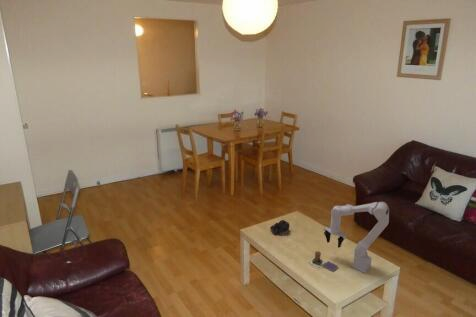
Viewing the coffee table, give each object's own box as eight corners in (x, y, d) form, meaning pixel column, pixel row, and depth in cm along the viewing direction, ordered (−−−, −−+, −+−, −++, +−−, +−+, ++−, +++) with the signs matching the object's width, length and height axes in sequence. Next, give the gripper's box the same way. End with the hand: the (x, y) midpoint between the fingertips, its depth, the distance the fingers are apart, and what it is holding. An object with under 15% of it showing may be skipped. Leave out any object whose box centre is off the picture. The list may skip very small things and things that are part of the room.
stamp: (322, 262, 210) (322, 252, 208) (319, 265, 207) (319, 255, 205) (315, 259, 213) (316, 249, 211) (312, 263, 209) (312, 253, 207)
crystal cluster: (267, 230, 250) (266, 218, 245) (282, 224, 255) (282, 213, 251) (276, 240, 238) (276, 228, 234) (292, 233, 244) (293, 222, 240)
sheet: (327, 262, 210) (327, 262, 210) (319, 269, 204) (319, 268, 204) (315, 256, 216) (315, 256, 216) (306, 262, 210) (306, 262, 210)
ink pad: (338, 267, 205) (338, 265, 205) (332, 272, 201) (333, 270, 201) (328, 262, 210) (328, 260, 210) (322, 266, 206) (322, 265, 206)
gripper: (349, 226, 204) (347, 246, 209) (328, 218, 214) (327, 237, 219) (343, 231, 200) (341, 251, 204) (322, 222, 210) (320, 241, 214)
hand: (333, 244), depth 211 cm, fingers open, 7 cm apart
